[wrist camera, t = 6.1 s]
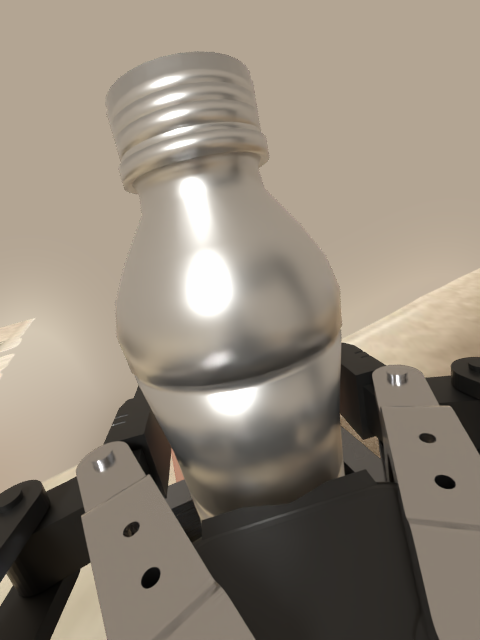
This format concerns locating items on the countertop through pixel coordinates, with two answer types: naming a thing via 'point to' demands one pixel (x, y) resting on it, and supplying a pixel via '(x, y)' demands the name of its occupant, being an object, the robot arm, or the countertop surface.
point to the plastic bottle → (223, 291)
